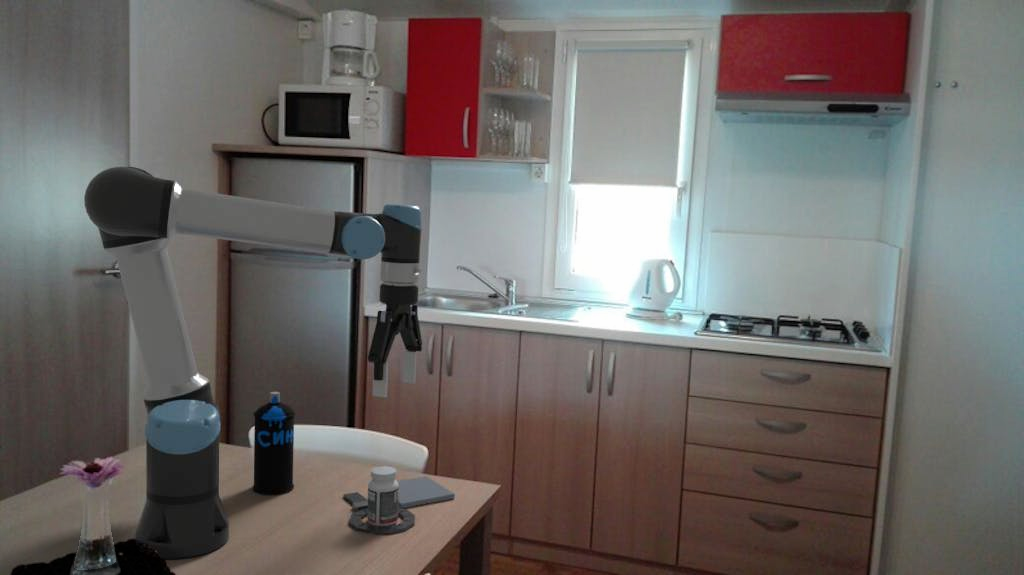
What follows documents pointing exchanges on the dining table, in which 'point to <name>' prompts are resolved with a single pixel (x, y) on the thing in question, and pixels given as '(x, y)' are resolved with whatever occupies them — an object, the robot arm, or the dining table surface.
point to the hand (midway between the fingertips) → (394, 389)
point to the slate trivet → (421, 492)
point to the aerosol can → (273, 447)
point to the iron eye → (362, 508)
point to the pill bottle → (383, 497)
